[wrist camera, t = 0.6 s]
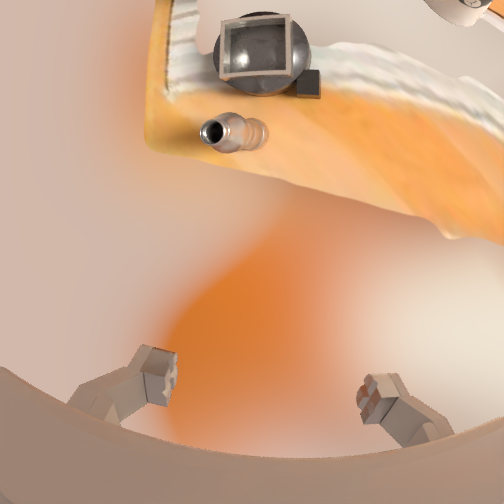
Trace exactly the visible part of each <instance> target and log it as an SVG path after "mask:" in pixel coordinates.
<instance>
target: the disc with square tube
mask: <svg viewBox="0 0 504 504" xmlns="http://www.w3.org/2000/svg"><path fill="white" fill-rule="evenodd" d="M213 58H214V64H215V67H216V70H217V72H218V73H219V78H220V79H222V80H224V81H225V82H227V83H228V84H229V85H231V86H233V87H234V88H236V89H239V90H241V91H243V92H245V93H247V94H250V95H254V96H262V97H267V96H275V95H279V94H282V93H285V92H287V91H289V90H291V89H292V88H294V87H295V86H296V85H297V95H298V96H299V98H315V99H321V80H320V72H319V70H309V67H310V63H311V50H310V46H309V43H308V40H307V38H306V35H305V33H304V31H303V30H302V28H301V27H300V26H299V25H298V24H297V23H296V22H295V21H293V20H292V18H291V16H290V14H279V13H274V12H254V13H250V14H247V15H244V16H241V17H240V18H237V19H231V20H224V21H221V34H220V35H219V37H218V39H217V41H216V43H215V47H214V53H213Z"/></svg>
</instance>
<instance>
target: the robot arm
mask: <svg viewBox="0 0 504 504" xmlns="http://www.w3.org/2000/svg"><path fill="white" fill-rule="evenodd" d="M424 1H425V2H426V3H427V4H428V6H429V7H430V8H431V9H432V10H434V12H436V13H437V14H438V15H439V16H441V17H442V18H444V19H445V20H447V21H449V22H451V23H453V24H455V25H458V26H462V27H468V26H472V25H473V24H474V23H475V22H476V20H477V19H481V18H483V17H484V16H485V14H484V11H485V10H486V9H487V8H488V6H489V5H490V2H492V1H493V0H424ZM177 359H178V358H177V353H175V352H171V351H167V350H164V349H160V348H156V347H151V346H148V345H145V344H142V345H141V346H140V347H139V349H138V350H137V352H136V354H135V355H134V357H133V359H132V360H131V362H130V363H129V365H128V367H122V368H120V369H117V370H115V371H113V372H111V373H108V374H106V375H103V376H101V377H98V378H96V379H94V380H91V381H89V382H86V383H84V384H81V385H79V387H78V388H77V390H76V391H75V392H74V394H73V395H72V397H71V398H70V400H69V401H68V403H67V404H65V403H63V402H61V401H60V400H58V399H56V398H54V397H52V396H50V395H48V394H46V393H45V392H43V391H41V390H39V389H37V388H36V387H34V386H32V385H30V384H29V383H28V382H26V381H24V380H23V379H21V378H19V377H18V376H17V375H15V374H14V373H12V372H11V371H9V370H8V369H6V368H4V367H0V504H504V417H498V418H496V419H494V420H491V421H489V422H487V423H484V424H482V425H479V426H477V427H474V428H472V429H469V430H466V431H463V432H460V433H458V434H455V433H454V432H453V430H452V428H451V426H450V424H449V422H448V420H447V419H446V418H445V417H444V416H442V415H441V414H439V413H438V412H436V411H435V410H433V409H432V408H430V407H429V406H427V405H426V404H424V403H423V402H421V401H420V400H418V399H417V398H415V397H414V396H410V395H409V393H408V391H407V389H406V387H405V386H404V384H403V382H402V380H401V378H400V376H399V375H398V374H397V373H388V374H368V375H367V376H366V377H365V379H364V383H365V384H364V385H363V386H361V387H360V388H359V390H358V392H357V397H356V401H357V405H358V407H359V408H360V409H361V410H362V411H361V413H360V415H361V418H362V420H363V424H380V425H381V426H382V427H383V428H384V429H385V430H386V431H387V432H388V433H389V434H390V435H391V436H392V437H393V438H394V439H395V440H396V441H397V442H398V443H399V444H400V445H401V446H402V447H403V448H401V449H396V450H390V451H385V452H378V453H371V454H363V455H354V456H344V457H328V458H276V457H260V456H248V455H239V454H231V453H224V452H217V451H211V450H205V449H200V448H195V447H190V446H186V445H181V444H177V443H172V442H169V441H164V440H161V439H157V438H154V437H150V436H147V435H144V434H140V433H137V432H134V431H131V430H128V429H125V428H122V427H121V424H120V422H121V421H122V420H124V419H125V418H127V417H128V416H130V415H131V414H133V413H134V412H136V411H137V410H138V409H140V408H141V407H143V406H144V405H145V404H147V402H148V403H152V404H156V405H160V406H165V407H167V406H168V403H169V401H170V398H171V390H172V389H174V387H175V384H176V380H177V373H178V368H177V366H176V363H177Z"/></svg>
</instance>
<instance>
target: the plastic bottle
mask: <svg viewBox="0 0 504 504" xmlns="http://www.w3.org/2000/svg"><path fill="white" fill-rule="evenodd" d="M268 137H269V131H268V128H267V126H266V125H265V124H264V123H263V122H262V121H261V120H259V119H255V118H249V119H245V118H243V117H242V116H240V115H238V114H236V113H232V112H227V113H223V114H220V115H218V116H216V117H215V118H214V119H212V120H208V121H206V122H205V123H204V124H203V125H202V127H201V129H200V138H201V140H202V141H203V143H205V144H207V145H210V146H212V147H213V148H214V149H215V150H217V151H218V152H221V153H233V152H236V151H238V150H240V149H243V150H246V151H255V150H258V149H260V148H261V147H263V146H264V145H265V144H266V142H267V140H268Z"/></svg>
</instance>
